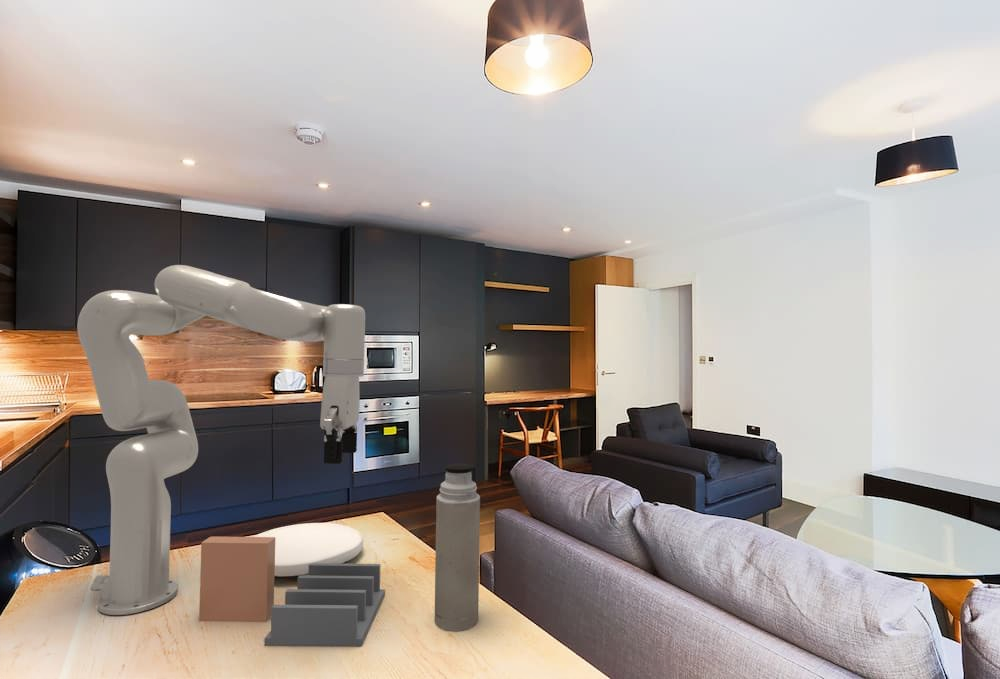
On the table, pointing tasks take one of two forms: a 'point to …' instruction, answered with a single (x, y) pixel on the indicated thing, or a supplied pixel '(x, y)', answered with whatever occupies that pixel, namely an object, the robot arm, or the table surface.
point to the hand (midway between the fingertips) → (340, 457)
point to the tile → (237, 579)
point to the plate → (312, 546)
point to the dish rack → (328, 607)
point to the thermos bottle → (457, 550)
